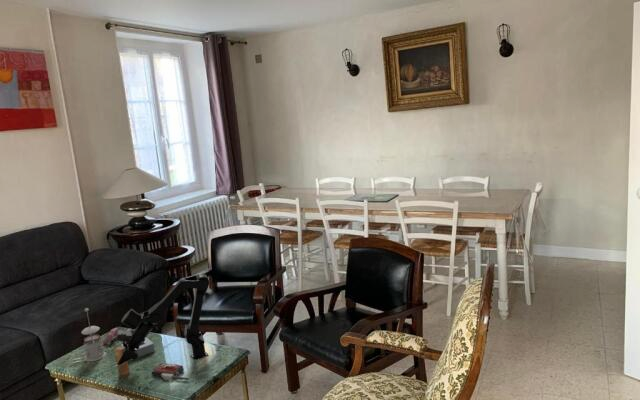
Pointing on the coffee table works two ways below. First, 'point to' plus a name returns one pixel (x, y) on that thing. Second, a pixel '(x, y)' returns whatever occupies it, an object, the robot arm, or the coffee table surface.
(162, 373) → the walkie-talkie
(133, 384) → the coffee table surface
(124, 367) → the peg
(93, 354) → the french press
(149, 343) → the socket block
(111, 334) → the video game controller
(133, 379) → the coffee table surface
